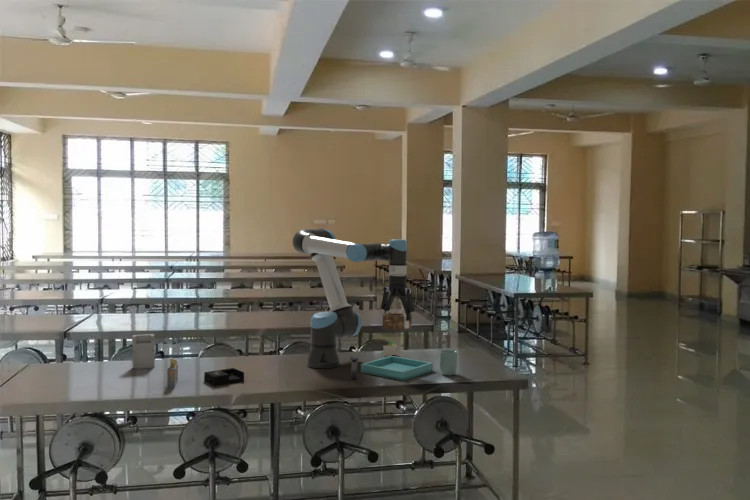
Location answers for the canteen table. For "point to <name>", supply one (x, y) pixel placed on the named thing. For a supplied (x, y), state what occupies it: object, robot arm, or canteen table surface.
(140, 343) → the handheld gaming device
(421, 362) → the tray
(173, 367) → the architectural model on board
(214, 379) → the battery charger
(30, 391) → the canteen table surface
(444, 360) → the cup
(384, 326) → the wooden box
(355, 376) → the stake
